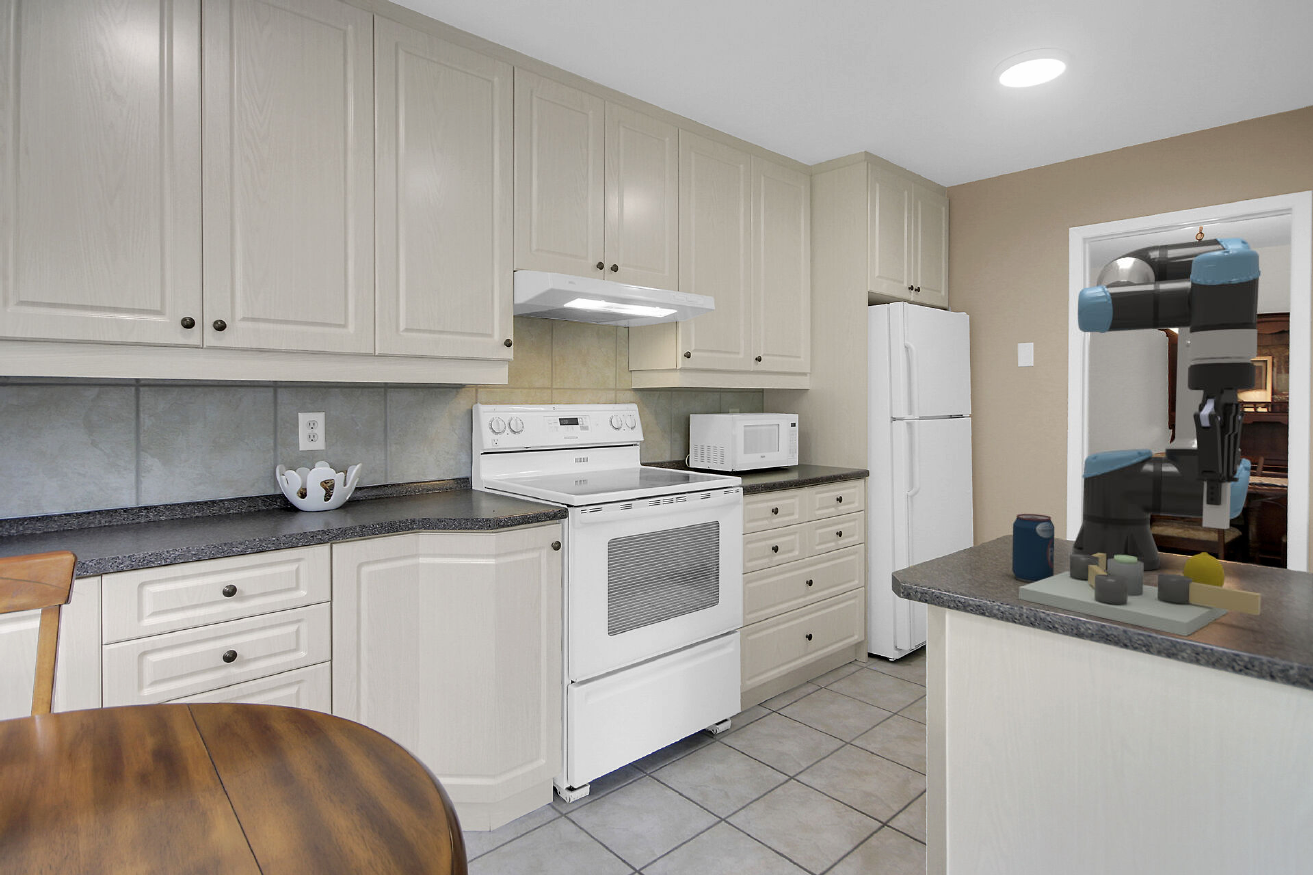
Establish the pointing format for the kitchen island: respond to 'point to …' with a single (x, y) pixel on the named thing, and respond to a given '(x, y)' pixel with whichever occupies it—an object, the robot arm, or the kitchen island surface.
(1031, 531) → the soda can
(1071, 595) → the plate
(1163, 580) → the knob
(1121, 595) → the front knob
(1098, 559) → the knob
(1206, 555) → the lemon
